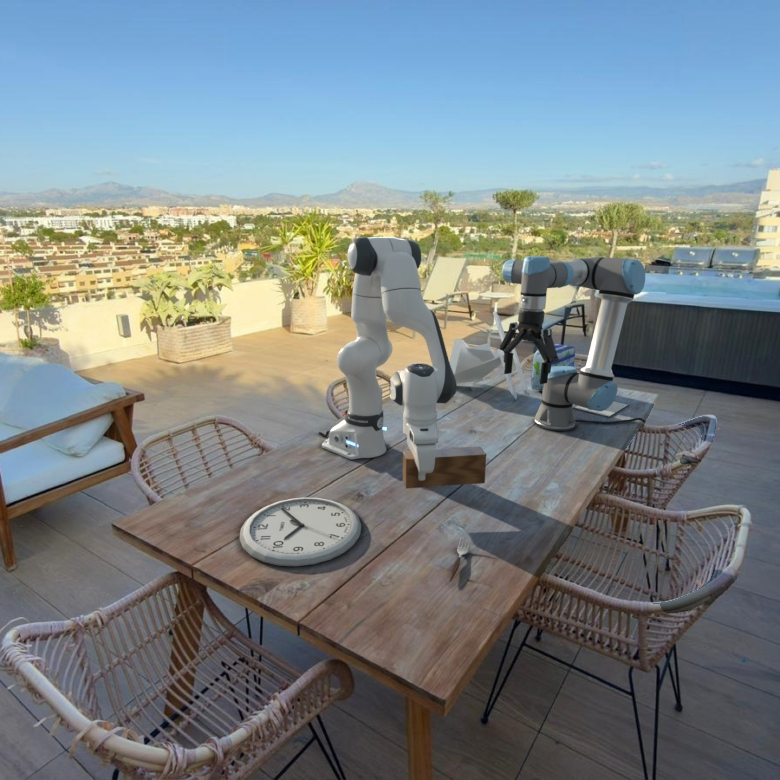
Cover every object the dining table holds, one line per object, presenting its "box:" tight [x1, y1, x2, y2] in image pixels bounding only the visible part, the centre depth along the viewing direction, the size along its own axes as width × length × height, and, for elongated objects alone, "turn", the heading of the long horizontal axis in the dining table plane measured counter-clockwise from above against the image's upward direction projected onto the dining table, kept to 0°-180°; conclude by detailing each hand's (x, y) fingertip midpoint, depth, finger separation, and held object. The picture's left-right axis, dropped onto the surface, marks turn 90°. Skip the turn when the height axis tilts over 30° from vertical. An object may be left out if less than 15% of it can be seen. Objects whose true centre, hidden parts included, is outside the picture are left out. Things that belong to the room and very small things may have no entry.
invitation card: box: [573, 400, 629, 418], centre depth 226 cm, size 21×1×15 cm
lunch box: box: [530, 343, 576, 392], centre depth 248 cm, size 26×11×21 cm, turn 134°
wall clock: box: [239, 497, 362, 567], centre depth 131 cm, size 30×2×30 cm
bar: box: [402, 445, 487, 489], centre depth 142 cm, size 22×6×8 cm, turn 98°
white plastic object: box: [449, 310, 531, 400], centre depth 245 cm, size 37×45×31 cm
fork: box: [449, 535, 471, 582], centre depth 119 cm, size 3×16×2 cm, turn 160°
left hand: (419, 473), depth 141 cm, fingers closed on bar, 5 cm apart
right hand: (525, 378), depth 162 cm, fingers open, 13 cm apart
